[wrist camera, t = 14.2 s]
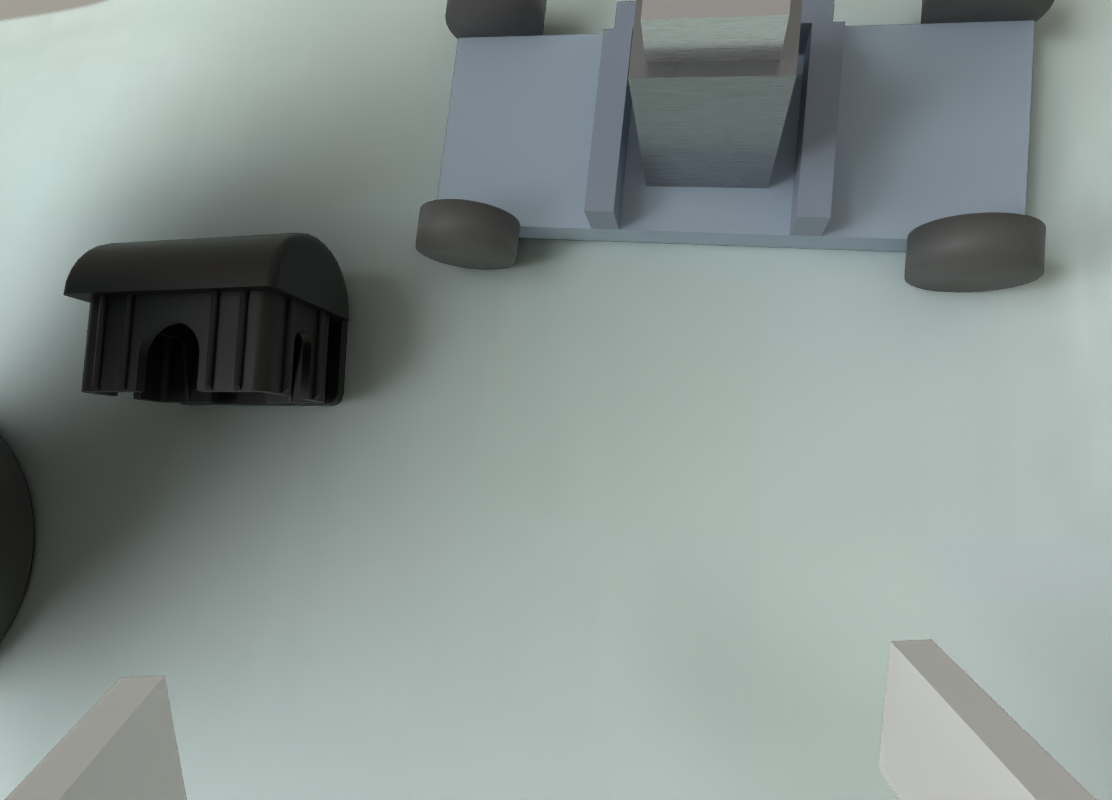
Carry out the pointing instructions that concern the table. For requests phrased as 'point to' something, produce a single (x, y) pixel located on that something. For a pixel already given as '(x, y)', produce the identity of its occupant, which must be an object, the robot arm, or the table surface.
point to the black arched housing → (215, 320)
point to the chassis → (802, 157)
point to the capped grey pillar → (712, 88)
